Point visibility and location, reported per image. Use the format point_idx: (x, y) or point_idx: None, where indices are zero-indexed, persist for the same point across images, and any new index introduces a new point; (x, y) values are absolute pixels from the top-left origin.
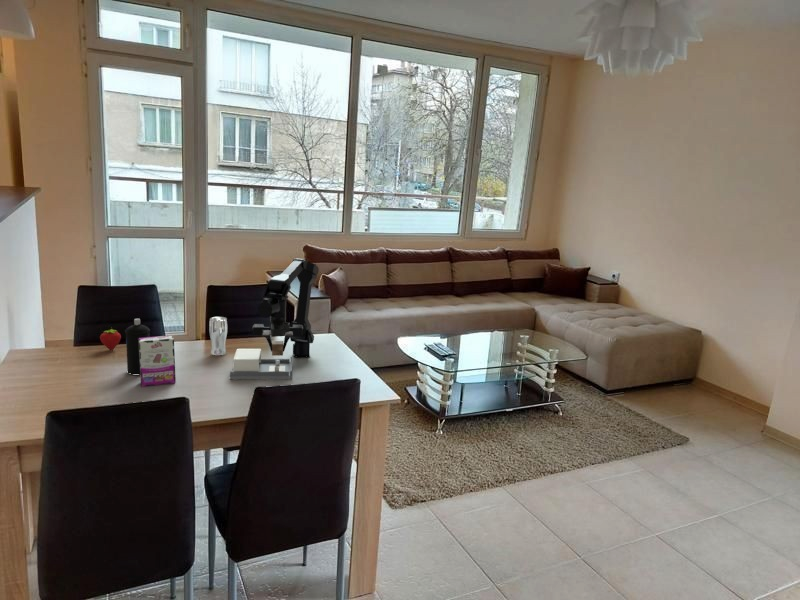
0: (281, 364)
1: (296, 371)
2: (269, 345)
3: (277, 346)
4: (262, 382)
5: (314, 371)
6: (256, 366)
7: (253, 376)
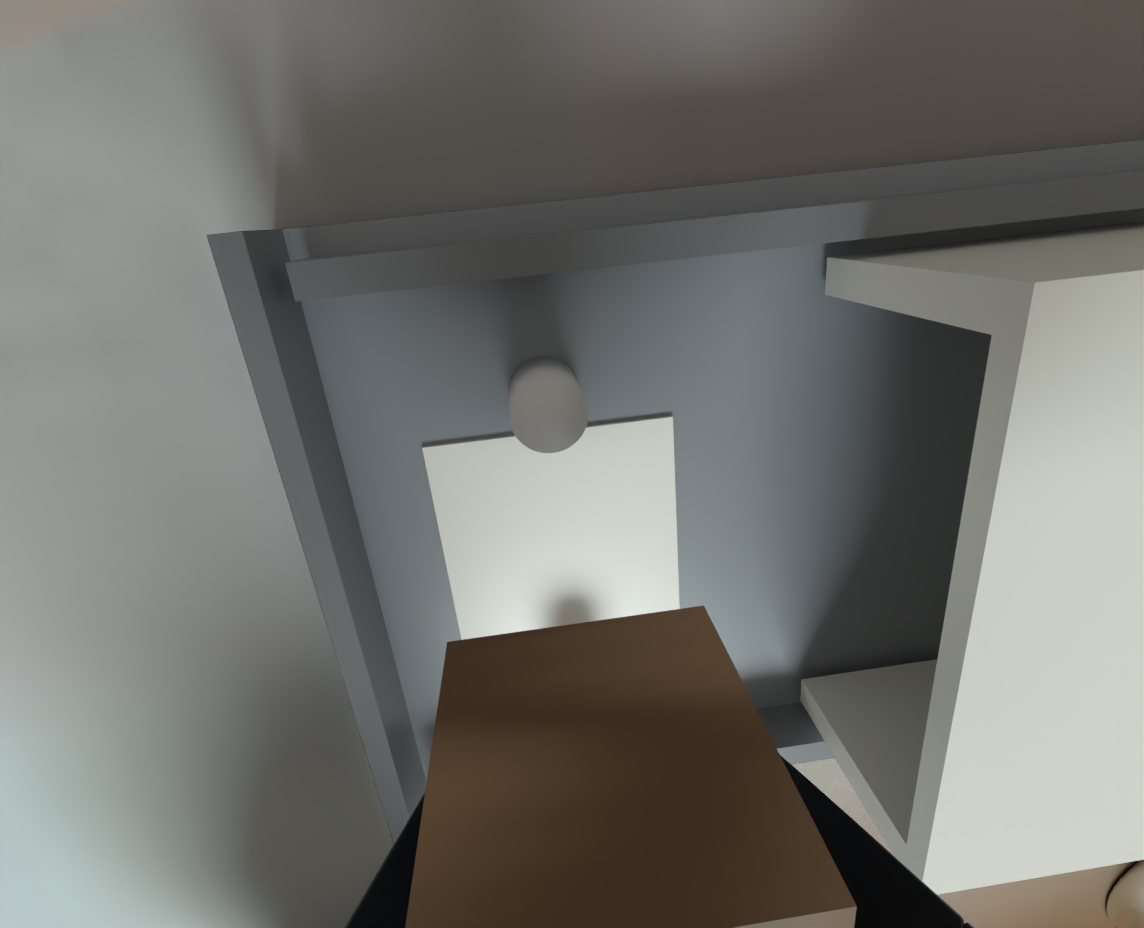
0: None
1: (293, 564)
2: (900, 867)
3: (618, 845)
4: (730, 35)
5: (29, 597)
6: (952, 264)
7: (902, 167)
